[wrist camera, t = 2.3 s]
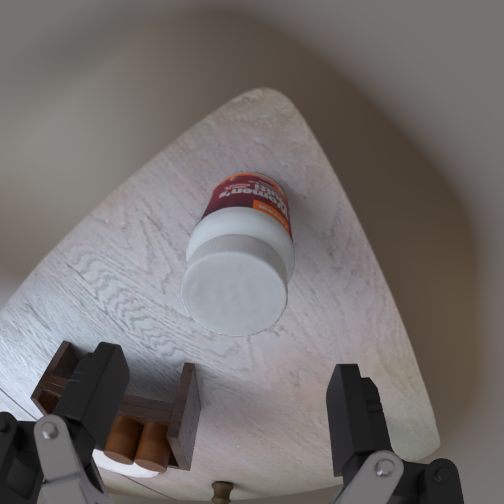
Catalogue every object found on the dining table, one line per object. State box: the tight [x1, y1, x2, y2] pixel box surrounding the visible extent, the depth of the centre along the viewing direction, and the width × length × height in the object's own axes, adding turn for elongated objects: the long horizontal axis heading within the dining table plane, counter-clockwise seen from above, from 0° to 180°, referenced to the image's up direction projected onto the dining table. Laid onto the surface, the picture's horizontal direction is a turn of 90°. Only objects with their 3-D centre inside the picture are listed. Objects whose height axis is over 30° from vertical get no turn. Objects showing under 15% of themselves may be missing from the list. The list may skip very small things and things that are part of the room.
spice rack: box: [30, 341, 201, 472], centre depth 31 cm, size 10×18×12 cm, turn 87°
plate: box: [92, 449, 159, 478], centre depth 53 cm, size 25×25×2 cm
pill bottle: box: [181, 172, 295, 337], centre depth 19 cm, size 6×6×11 cm
